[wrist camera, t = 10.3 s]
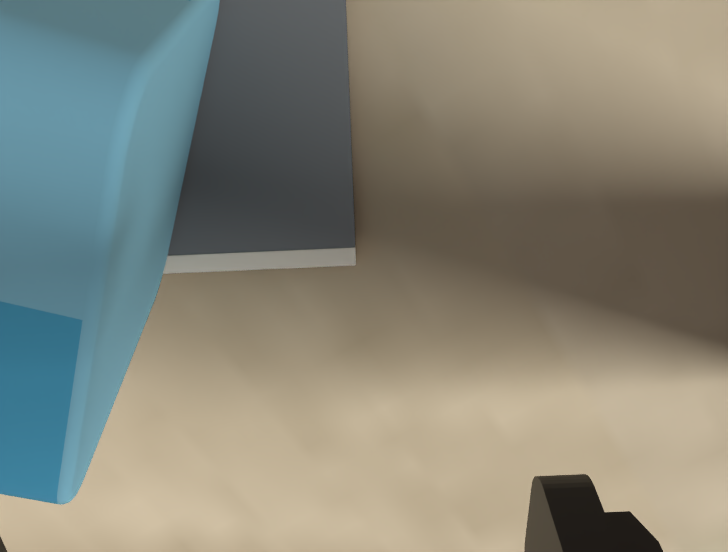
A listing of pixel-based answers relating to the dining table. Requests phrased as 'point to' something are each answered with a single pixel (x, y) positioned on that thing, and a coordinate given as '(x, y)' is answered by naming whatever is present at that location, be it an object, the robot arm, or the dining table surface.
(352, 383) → the dining table surface
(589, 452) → the dining table surface
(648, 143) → the dining table surface
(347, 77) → the mat
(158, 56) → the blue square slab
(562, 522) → the robot arm
